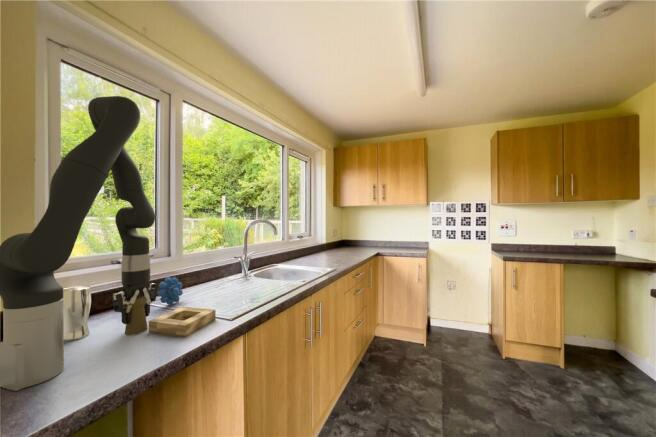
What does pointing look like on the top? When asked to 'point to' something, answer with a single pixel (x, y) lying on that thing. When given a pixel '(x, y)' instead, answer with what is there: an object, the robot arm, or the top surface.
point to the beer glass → (76, 312)
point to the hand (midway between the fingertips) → (136, 319)
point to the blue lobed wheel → (170, 290)
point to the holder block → (182, 321)
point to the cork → (137, 317)
